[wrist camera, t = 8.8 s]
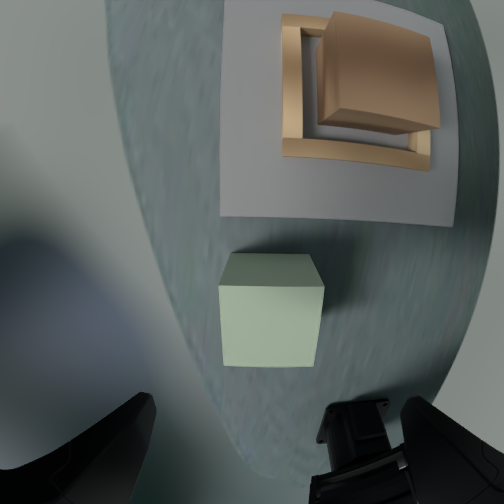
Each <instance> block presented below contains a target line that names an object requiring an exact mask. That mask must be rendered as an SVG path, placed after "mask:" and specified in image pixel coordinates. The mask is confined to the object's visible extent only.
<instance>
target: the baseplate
mask: <svg viewBox="0 0 504 504" xmlns="http://www.w3.org/2000/svg"><path fill="white" fill-rule="evenodd" d="M334 11H337V12H342V13H348V14H353V15H358V16H362V17H367V18H371V19H375V20H379V21H382V22H386V23H389V24H393V25H396V26H399V27H402V28H405V29H408V30H411V31H414V32H417V33H420V34H422V35H425V36H428V37H430V42H431V47H432V52H433V58H434V64H435V71H436V78H437V87H438V97H439V110H440V129H432V130H425V131H419V132H412V133H406V134H400V135H390V134H385V133H379V132H373V131H366V130H359V129H351V128H343V127H334V126H324V125H318V113H317V69H316V48H317V46H318V44H319V42H320V39H321V37H322V35H323V33H324V31H325V29H326V27H327V24H328V22H329V20H330V18H331V16H332V14H333V12H334ZM458 157H459V139H458V115H457V102H456V92H455V84H454V77H453V70H452V64H451V59H450V54H449V49H448V44H447V40H446V35H445V31H444V28H443V25H442V24H439V23H437V22H435V21H432V20H430V19H428V18H425V17H423V16H420V15H418V14H415V13H412V12H409V11H407V10H404V9H401V8H398V7H395V6H391V5H388V4H385V3H381V2H378V1H374V0H225V6H224V24H223V44H222V69H221V105H220V216H246V217H291V218H319V219H342V220H361V221H378V222H393V223H407V224H420V225H433V226H444V227H453V222H454V214H455V205H456V195H457V182H458Z"/></svg>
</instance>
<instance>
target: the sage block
mask: <svg viewBox="0 0 504 504" xmlns="http://www.w3.org/2000/svg"><path fill="white" fill-rule="evenodd" d="M324 288H325V286H324V284H323V282H322V280H321V278H320V276H319V274H318V272H317V269H316V267H315V265H314V263H313V261H312V259H311V257H310V255H309V254H265V253H230V256H229V259H228V261H227V264H226V267H225V270H224V272H223V275H222V278H221V280H220V283H219V301H220V318H221V334H222V348H223V362H224V366H245V367H310V366H313V365H314V359H315V353H316V347H317V340H318V334H319V327H320V320H321V312H322V304H323V296H324Z"/></svg>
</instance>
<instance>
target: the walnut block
mask: <svg viewBox="0 0 504 504" xmlns="http://www.w3.org/2000/svg"><path fill="white" fill-rule="evenodd" d="M316 69H317V113H318V125H324V126H334V127H343V128H351V129H359V130H366V131H373V132H379V133H385V134H390V135H400V134H406V133H412V132H419V131H425V130H432V129H440V110H439V97H438V87H437V78H436V71H435V64H434V58H433V52H432V47H431V42H430V37H428V36H425V35H422V34H420V33H417V32H414V31H411V30H408V29H405V28H402V27H399V26H396V25H393V24H389V23H386V22H382V21H379V20H375V19H371V18H367V17H362V16H358V15H353V14H348V13H342V12H337V11H334V12H333V14H332V16H331V18H330V20H329V22H328V24H327V27H326V29H325V31H324V33H323V35H322V37H321V39H320V42H319V44H318V46H317V48H316Z"/></svg>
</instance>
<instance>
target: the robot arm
mask: <svg viewBox="0 0 504 504" xmlns="http://www.w3.org/2000/svg"><path fill="white" fill-rule="evenodd" d="M389 404H390V402H389V400H388V399H380V400H373V401H366V402H358V403H349V404H339V405H330V406H328V407H327V408H326V410H325V413H324V416H323V420H322V423H321V426H320V429H319V432H318V435H317V438H316V443H318V444H323V443H327V447H328V453H329V459H330V466H331V472H329V473H326V474H322V475H315V476H312V479H311V484H310V494H309V504H504V454H503V453H502V452H500V451H498V450H496V449H495V448H493V447H492V446H490V445H489V444H487V443H486V442H484V441H483V440H481V439H479V438H478V437H477V436H475V435H474V434H472V433H471V432H470V431H468V430H467V429H465V428H464V427H462V426H461V425H460V424H458V423H457V422H455V421H454V420H453V419H451V418H450V417H448V416H447V415H445V414H444V413H443V412H441V411H440V410H439V409H437V408H436V407H434V406H433V405H432V404H430V403H429V402H427V401H426V400H425V399H423V398H422V397H420V396H412V397H409V398H408V399H407V401H406V403H405V405H404V406H403V408H402V410H401V413H400V419H401V424H402V430H403V436H404V443H402V444H400V446H398V447H395V448H393V449H392V448H391V445H390V442H389V439H388V436H387V432H386V429H385V427H384V424H383V421H382V418H383V416H384V414H385V412H386V410H387V408H388V406H389ZM155 417H156V406H155V403H154V399H153V396H152V395H151V394H149V393H145V392H139V393H138V394H136V395H135V396H133V397H132V398H131V399H130V400H128V401H127V402H125V403H124V404H123V405H121V406H120V407H118V408H117V409H115V410H114V411H113V412H111V413H110V414H108V415H107V416H106V417H104V418H103V419H101V420H100V421H98V422H97V423H95V424H94V425H92V426H91V427H90V428H88V429H87V430H85V431H84V432H82V433H81V434H79V435H78V436H76V437H75V438H73V439H72V440H70V442H67V443H65V444H64V445H62V446H61V447H59V448H57V449H56V450H54V451H52V452H51V453H49V454H47V455H45V456H43V457H41V458H38V459H36V460H34V461H32V462H30V463H27V464H25V465H23V466H20V467H18V468H15V469H8V470H2V469H0V504H129V501H130V499H131V496H132V493H133V490H134V487H135V484H136V482H137V479H138V475H139V473H140V470H141V467H142V465H143V462H144V459H145V456H146V454H147V451H148V447H149V443H150V438H151V434H152V430H153V426H154V421H155ZM405 465H406V467H405V468H403V469H400V470H399V468H401V467H403V466H405ZM417 502H418V503H417Z"/></svg>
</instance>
